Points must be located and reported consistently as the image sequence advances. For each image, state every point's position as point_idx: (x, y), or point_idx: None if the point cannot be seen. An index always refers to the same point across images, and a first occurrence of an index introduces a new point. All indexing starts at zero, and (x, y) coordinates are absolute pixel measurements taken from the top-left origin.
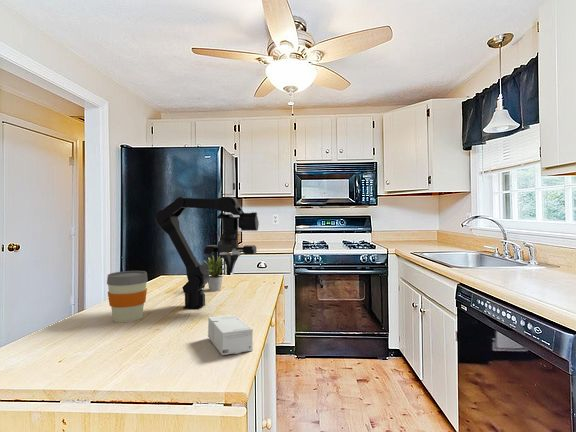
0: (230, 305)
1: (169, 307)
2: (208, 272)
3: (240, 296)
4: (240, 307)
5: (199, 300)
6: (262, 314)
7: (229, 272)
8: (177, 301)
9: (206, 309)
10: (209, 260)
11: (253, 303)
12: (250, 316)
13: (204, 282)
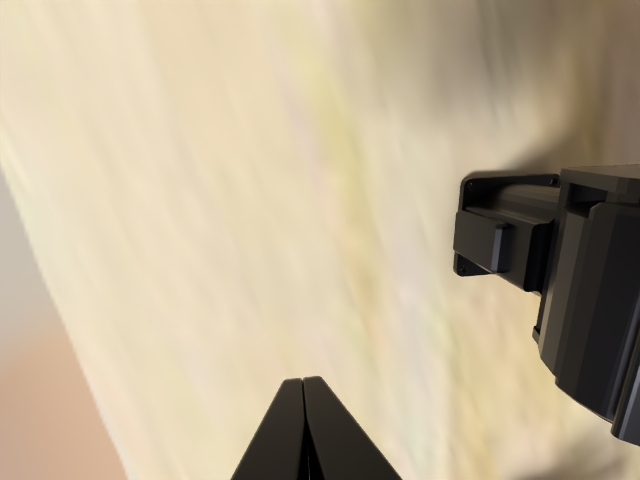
0: (310, 286)
1: None
2: (629, 406)
3: None
4: (237, 256)
5: (495, 210)
6: (26, 122)
7: (313, 378)
8: None
9: (420, 184)
10: None
11: (193, 348)
12: (86, 62)
13: (567, 244)
